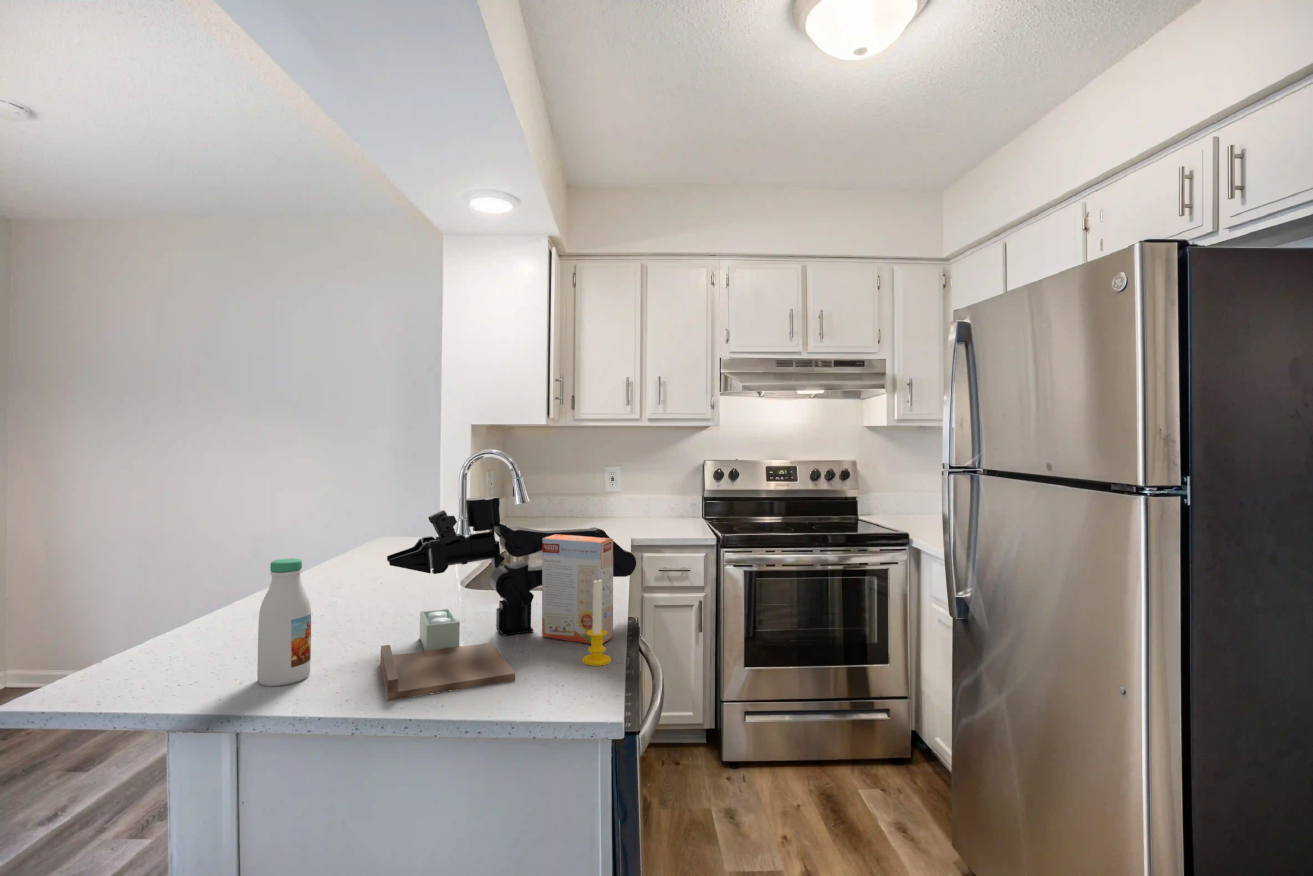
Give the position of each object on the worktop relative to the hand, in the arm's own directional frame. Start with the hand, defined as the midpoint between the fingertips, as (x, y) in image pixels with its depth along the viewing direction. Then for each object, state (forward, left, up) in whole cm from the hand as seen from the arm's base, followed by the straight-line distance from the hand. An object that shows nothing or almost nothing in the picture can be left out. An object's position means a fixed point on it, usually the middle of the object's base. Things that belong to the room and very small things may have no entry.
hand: (388, 560), depth 123 cm
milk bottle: (+17, +11, -17) cm, 26 cm away
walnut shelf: (-8, +19, -17) cm, 27 cm away
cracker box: (-36, +11, -17) cm, 41 cm away
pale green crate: (-9, +3, -17) cm, 19 cm away
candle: (-34, +25, -17) cm, 46 cm away
